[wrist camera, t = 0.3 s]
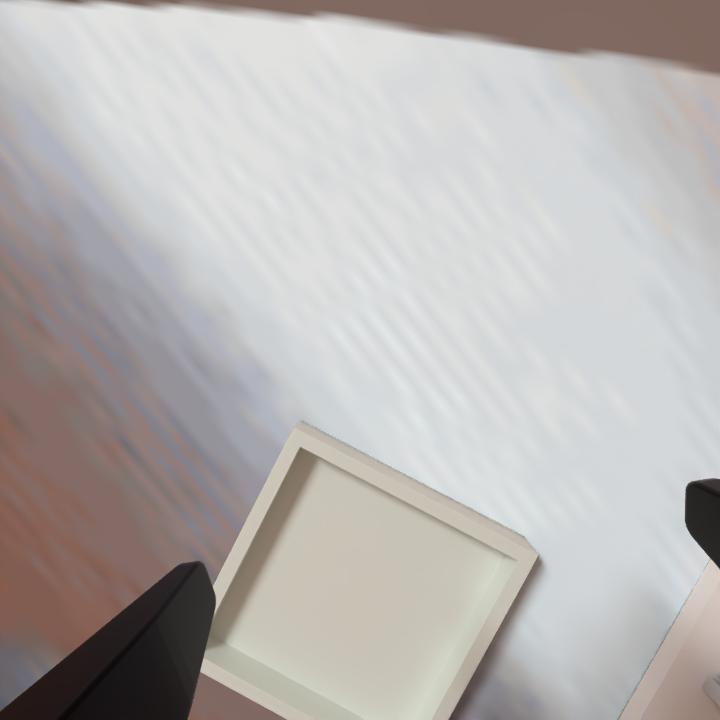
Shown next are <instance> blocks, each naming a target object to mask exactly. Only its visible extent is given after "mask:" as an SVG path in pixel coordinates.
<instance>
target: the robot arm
mask: <svg viewBox="0 0 720 720" xmlns="http://www.w3.org/2000/svg"><path fill="white" fill-rule="evenodd" d="M685 523H686V527H687V529H688V531H689V533H690V534H691V536H692V537H693V538H694V539H695V541H696V542H697V543H698V544H699V545H700V547H701V548H702V549H703V550H704V551H705V553H706V554H707V555H708V556H709V557H710V558H711V560H712V561H713V562H714V563H715V564H716V566H717V567H718V568H719V569H720V479H715V478H710V479H704V480H697V481H692V482H690V483H688V485H687V487H686V493H685ZM215 608H216V595H215V592H214V589H213V586H212V583H211V580H210V578H209V575H208V572H207V569H206V567H205V565H204V564H203V562H201V561H194V562H188V563H182V564H180V565H178V566H177V567H175V568H174V569H173V570H172V571H170V572H169V573H168V574H167V575H166V576H164V577H163V578H162V579H161V580H159V581H158V582H157V583H156V584H155V585H153V586H152V587H151V588H150V589H149V590H147V591H146V592H145V593H144V594H142V595H141V596H140V597H139V598H138V599H136V600H135V601H134V602H133V603H132V604H130V605H129V606H128V607H127V608H125V609H124V610H123V611H122V612H121V613H119V614H118V615H117V616H116V617H115V618H113V619H112V620H111V621H110V622H108V623H107V624H106V625H105V626H104V627H102V628H101V629H100V630H99V631H97V632H96V633H95V634H94V635H93V636H91V637H90V638H89V639H88V640H87V641H85V642H84V643H83V644H82V645H80V646H79V647H78V648H77V649H76V650H74V651H73V652H72V653H71V654H70V655H68V656H67V657H66V658H65V659H63V660H62V661H61V662H60V663H59V664H57V665H56V666H55V667H54V668H53V669H51V670H50V671H49V672H48V673H46V674H45V675H44V676H43V677H42V678H40V679H39V680H38V681H37V682H36V683H34V684H33V685H32V686H31V687H29V688H28V689H27V690H26V691H25V692H23V693H22V694H21V695H20V696H18V697H17V698H16V699H15V700H14V701H12V702H11V703H10V704H9V705H8V706H6V707H5V708H4V709H3V710H1V711H0V720H187V719H188V716H189V713H190V709H191V706H192V703H193V699H194V695H195V691H196V687H197V683H198V679H199V675H200V671H201V667H202V662H203V658H204V654H205V650H206V646H207V642H208V638H209V633H210V629H211V625H212V621H213V617H214V613H215Z"/></svg>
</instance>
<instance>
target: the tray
mask: <svg viewBox="0 0 720 720" xmlns="http://www.w3.org/2000/svg"><path fill="white" fill-rule="evenodd" d="M537 557H538V553H537V552H536V551H535V550H534V548H533V547H532V546H531V545H530V543H529V542H528V541H527V540H526V538H525V537H524V536H522V535H520V534H518V533H517V532H515V531H513V530H511V529H509V528H507V527H505V526H503V525H501V524H499V523H497V522H495V521H494V520H492V519H490V518H488V517H486V516H484V515H482V514H480V513H478V512H476V511H474V510H472V509H470V508H469V507H467V506H465V505H463V504H461V503H459V502H457V501H455V500H453V499H451V498H449V497H447V496H446V495H444V494H442V493H440V492H438V491H436V490H434V489H432V488H430V487H428V486H426V485H424V484H422V483H421V482H419V481H417V480H415V479H413V478H411V477H409V476H407V475H405V474H403V473H401V472H399V471H397V470H396V469H394V468H392V467H390V466H388V465H386V464H384V463H382V462H380V461H378V460H376V459H374V458H373V457H371V456H369V455H367V454H365V453H363V452H361V451H359V450H357V449H355V448H353V447H351V446H349V445H348V444H346V443H344V442H342V441H340V440H338V439H336V438H334V437H332V436H330V435H328V434H326V433H324V432H323V431H321V430H319V429H317V428H315V427H313V426H311V425H309V424H307V423H305V422H303V421H300V422H299V423H298V424H297V425H296V426H294V428H293V429H292V431H291V433H290V435H289V437H288V439H287V441H286V443H285V445H284V447H283V449H282V451H281V453H280V455H279V457H278V459H277V461H276V463H275V465H274V467H273V469H272V471H271V473H270V475H269V477H268V479H267V481H266V483H265V485H264V487H263V489H262V491H261V493H260V495H259V497H258V499H257V501H256V503H255V505H254V507H253V509H252V510H251V512H250V514H249V516H248V518H247V520H246V522H245V524H244V526H243V528H242V530H241V532H240V534H239V536H238V538H237V540H236V542H235V544H234V546H233V548H232V550H231V552H230V554H229V556H228V558H227V560H226V562H225V564H224V566H223V568H222V570H221V572H220V574H219V576H218V578H217V580H216V582H215V584H214V586H213V589H214V592H215V595H216V608H215V613H214V617H213V621H212V625H211V629H210V633H209V638H208V642H207V646H206V650H205V654H204V658H203V662H202V667H201V671H200V672H202V673H204V674H205V675H207V676H209V677H211V678H213V679H214V680H216V681H218V682H220V683H222V684H224V685H225V686H227V687H229V688H231V689H233V690H235V691H236V692H238V693H240V694H242V695H244V696H245V697H247V698H249V699H251V700H253V701H255V702H256V703H258V704H260V705H262V706H264V707H265V708H267V709H269V710H271V711H273V712H275V713H276V714H278V715H280V716H282V717H284V718H286V719H287V720H448V719H449V718H450V716H451V714H452V712H453V710H454V708H455V707H456V705H457V703H458V701H459V699H460V697H461V696H462V694H463V692H464V690H465V688H466V687H467V685H468V683H469V681H470V679H471V677H472V676H473V674H474V672H475V670H476V668H477V667H478V665H479V663H480V661H481V659H482V657H483V656H484V654H485V652H486V650H487V648H488V646H489V645H490V643H491V641H492V639H493V637H494V636H495V634H496V632H497V630H498V628H499V626H500V625H501V623H502V621H503V619H504V617H505V615H506V614H507V612H508V610H509V608H510V606H511V605H512V603H513V601H514V599H515V597H516V595H517V594H518V592H519V590H520V588H521V586H522V584H523V583H524V581H525V579H526V577H527V575H528V574H529V572H530V570H531V568H532V566H533V564H534V563H535V561H536V559H537Z"/></svg>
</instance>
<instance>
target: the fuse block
mask: <svg viewBox="0 0 720 720" xmlns="http://www.w3.org/2000/svg"><path fill="white" fill-rule="evenodd" d="M719 671H720V569H719V568H718V567H717V566H716V564H715V563H714V562H713V561H712V560H711V559H710V561H709V563H708V564H707V566H706V568H705V570H704V571H703V573H702V575H701V577H700V578H699V580H698V582H697V584H696V585H695V587H694V589H693V591H692V592H691V594H690V596H689V598H688V599H687V601H686V603H685V605H684V606H683V608H682V610H681V612H680V613H679V615H678V617H677V619H676V620H675V622H674V624H673V625H672V627H671V629H670V631H669V632H668V634H667V636H666V638H665V639H664V641H663V643H662V645H661V646H660V648H659V650H658V652H657V653H656V655H655V657H654V659H653V660H652V662H651V664H650V666H649V667H648V669H647V671H646V673H645V674H644V676H643V678H642V680H641V681H640V683H639V685H638V687H637V688H636V690H635V692H634V694H633V695H632V697H631V699H630V701H629V702H628V704H627V706H626V708H625V709H624V711H623V713H622V715H621V716H620V718H619V720H720V676H719V675H718V672H719Z"/></svg>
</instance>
